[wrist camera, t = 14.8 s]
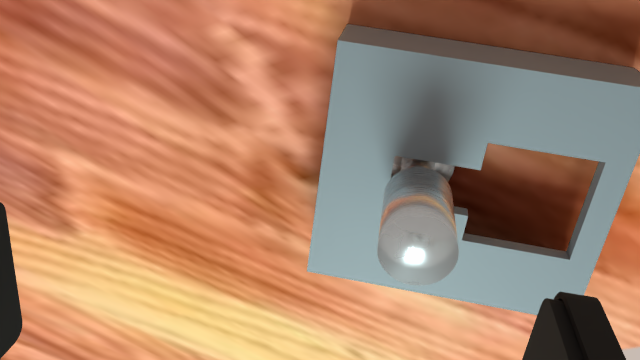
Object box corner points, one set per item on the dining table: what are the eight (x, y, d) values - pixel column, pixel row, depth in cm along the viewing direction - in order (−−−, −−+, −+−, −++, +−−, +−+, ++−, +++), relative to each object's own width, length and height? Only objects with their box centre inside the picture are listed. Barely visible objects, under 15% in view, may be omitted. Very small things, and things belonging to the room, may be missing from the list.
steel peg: (460, 126, 40) (477, 219, 28) (444, 189, 42) (455, 299, 30) (389, 114, 40) (377, 201, 28) (378, 177, 42) (362, 282, 30)
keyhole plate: (634, 67, 36) (664, 91, 32) (557, 278, 43) (572, 321, 39) (347, 23, 38) (337, 40, 33) (318, 234, 45) (306, 271, 40)
